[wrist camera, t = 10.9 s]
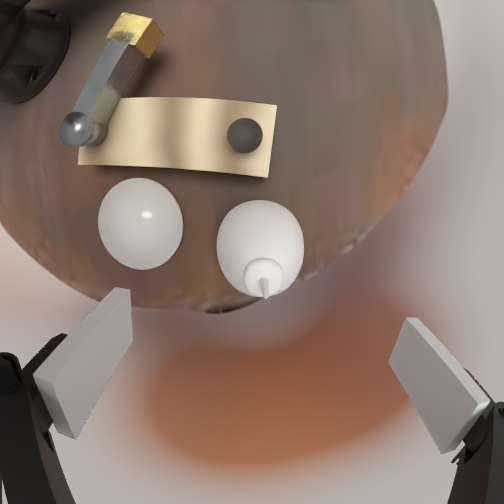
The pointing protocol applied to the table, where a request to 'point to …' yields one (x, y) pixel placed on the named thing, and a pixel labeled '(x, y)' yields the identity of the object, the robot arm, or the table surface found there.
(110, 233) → the white round disc
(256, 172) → the beige long block
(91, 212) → the table surface
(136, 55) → the lever
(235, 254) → the sauce bottle
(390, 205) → the table surface
